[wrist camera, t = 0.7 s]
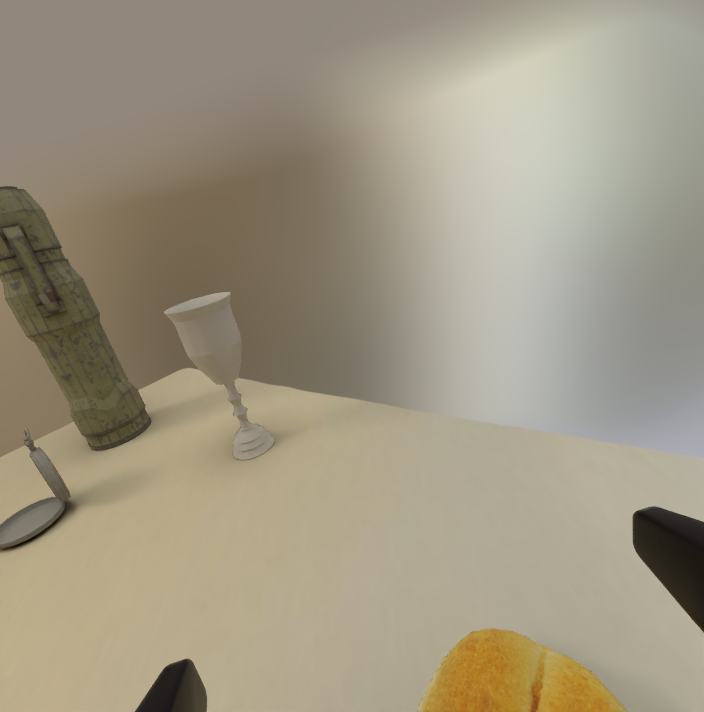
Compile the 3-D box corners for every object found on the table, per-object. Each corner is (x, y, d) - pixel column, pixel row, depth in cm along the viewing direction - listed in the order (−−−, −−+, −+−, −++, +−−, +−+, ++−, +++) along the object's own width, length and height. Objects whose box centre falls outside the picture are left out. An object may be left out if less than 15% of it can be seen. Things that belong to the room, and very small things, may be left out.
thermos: (140, 410, 67) (34, 194, 54) (161, 427, 58) (40, 175, 46) (83, 437, 62) (-49, 206, 49) (97, 461, 53) (-60, 187, 41)
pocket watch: (-22, 553, 40) (-83, 475, 37) (47, 495, 48) (3, 425, 44) (42, 548, 38) (-15, 465, 35) (103, 488, 46) (61, 416, 43)
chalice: (218, 448, 48) (158, 310, 42) (268, 423, 51) (219, 290, 45) (236, 474, 42) (170, 317, 36) (291, 443, 45) (239, 293, 39)
